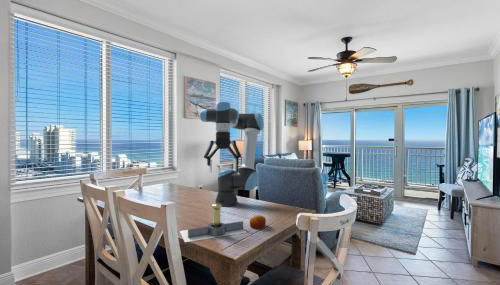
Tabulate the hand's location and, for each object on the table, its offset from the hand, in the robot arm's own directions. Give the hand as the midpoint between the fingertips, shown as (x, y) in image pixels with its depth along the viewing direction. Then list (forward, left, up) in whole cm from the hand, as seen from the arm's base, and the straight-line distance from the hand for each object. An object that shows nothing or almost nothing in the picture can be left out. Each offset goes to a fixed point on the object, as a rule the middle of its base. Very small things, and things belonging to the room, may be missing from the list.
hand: (222, 171), depth 136 cm
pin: (+18, -9, -26) cm, 32 cm away
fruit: (+18, +12, -27) cm, 35 cm away
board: (+16, -10, -27) cm, 32 cm away
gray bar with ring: (+18, -9, -26) cm, 32 cm away
